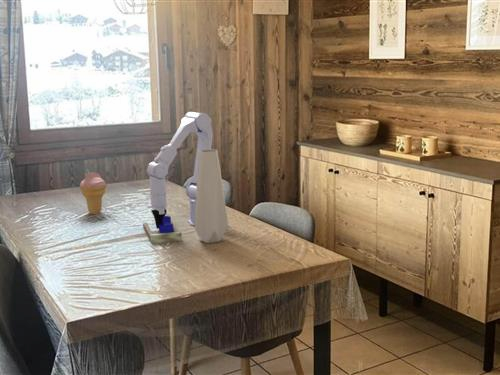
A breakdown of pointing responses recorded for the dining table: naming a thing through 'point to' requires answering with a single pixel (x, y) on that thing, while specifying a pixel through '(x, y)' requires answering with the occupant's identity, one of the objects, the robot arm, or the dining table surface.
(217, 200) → the vase
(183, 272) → the dining table surface
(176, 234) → the guide
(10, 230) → the dining table surface
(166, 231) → the cable clip
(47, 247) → the dining table surface
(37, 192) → the dining table surface
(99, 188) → the ice cream cone
